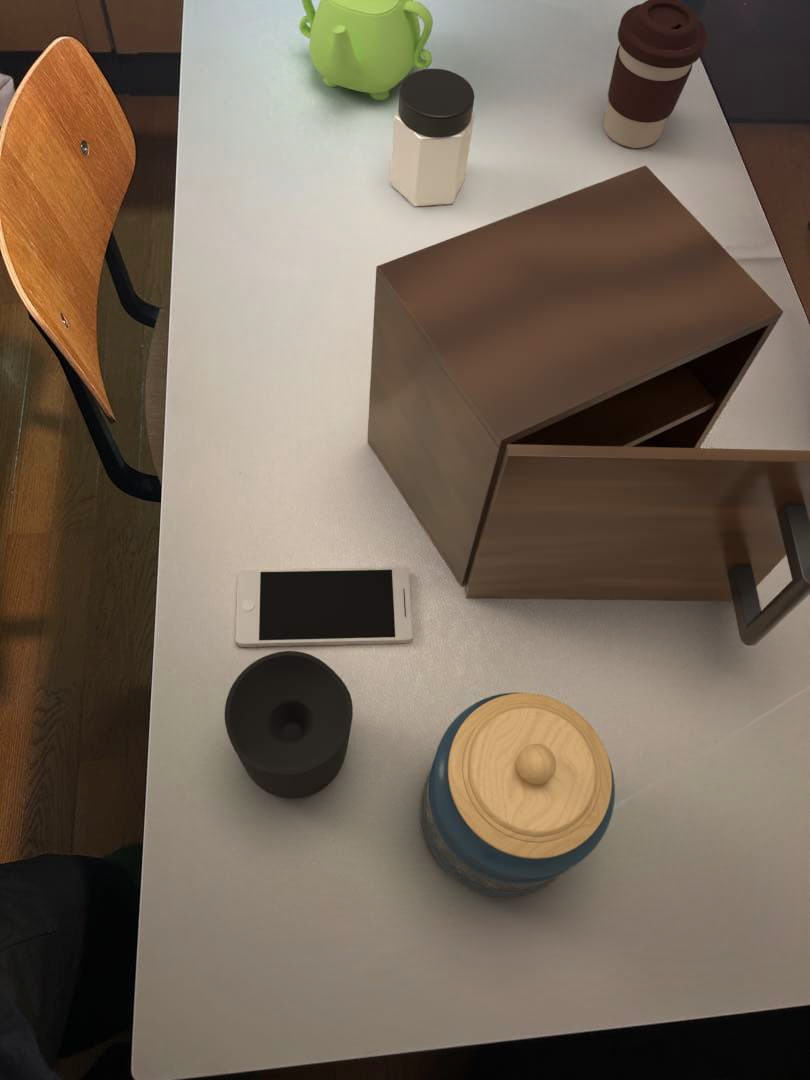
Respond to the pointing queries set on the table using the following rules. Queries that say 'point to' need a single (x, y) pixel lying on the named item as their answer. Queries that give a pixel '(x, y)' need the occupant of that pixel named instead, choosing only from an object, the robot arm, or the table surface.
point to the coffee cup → (651, 69)
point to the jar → (432, 136)
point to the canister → (516, 794)
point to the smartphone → (323, 607)
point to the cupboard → (553, 345)
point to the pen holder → (289, 723)
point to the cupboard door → (648, 527)
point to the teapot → (367, 42)
